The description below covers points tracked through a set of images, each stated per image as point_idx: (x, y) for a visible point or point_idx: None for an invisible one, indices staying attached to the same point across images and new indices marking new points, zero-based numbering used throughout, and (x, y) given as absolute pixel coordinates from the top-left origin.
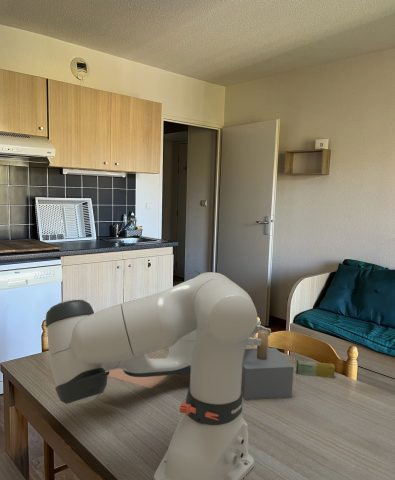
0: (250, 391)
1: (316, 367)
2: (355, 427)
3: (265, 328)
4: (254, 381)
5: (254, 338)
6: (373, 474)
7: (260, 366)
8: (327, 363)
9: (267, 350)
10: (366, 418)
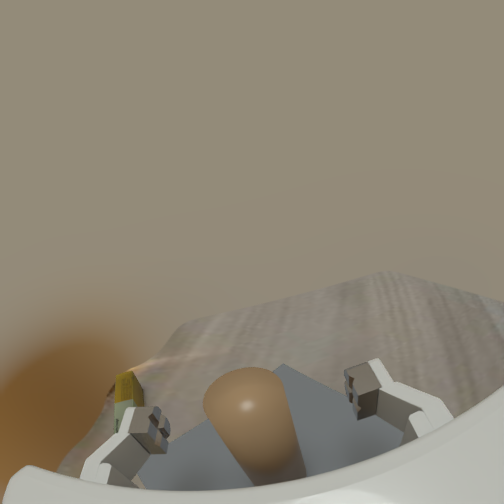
0: None
1: (135, 402)
2: (321, 315)
3: (129, 430)
4: None
5: (391, 384)
6: (401, 274)
7: (377, 426)
8: (116, 383)
9: (174, 485)
10: (281, 318)
